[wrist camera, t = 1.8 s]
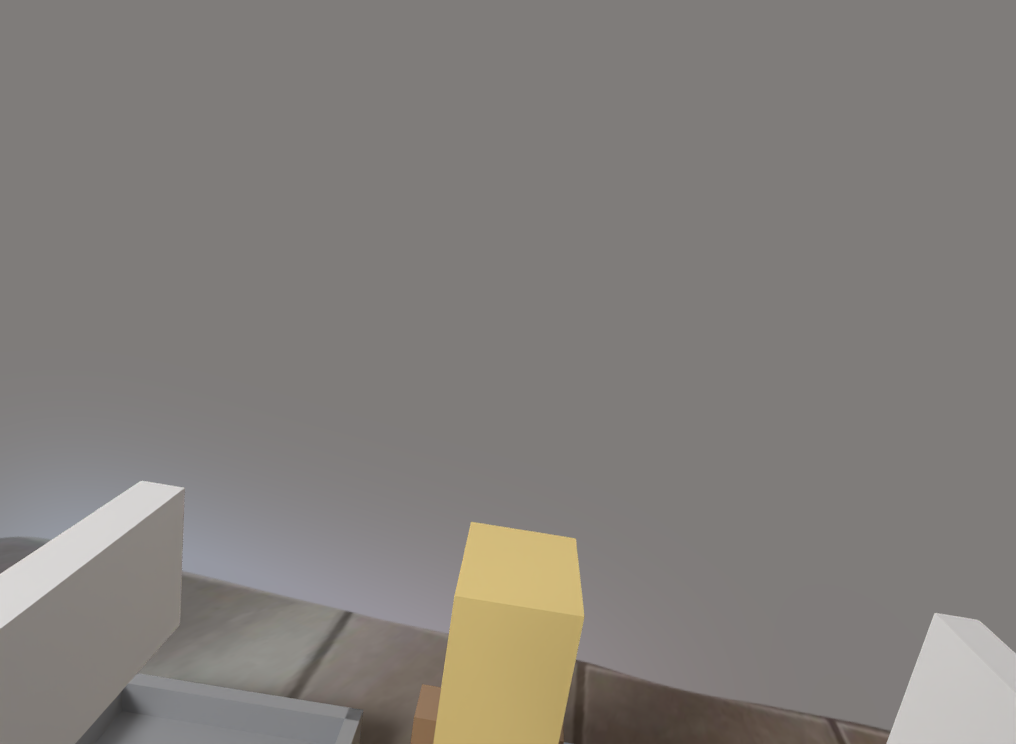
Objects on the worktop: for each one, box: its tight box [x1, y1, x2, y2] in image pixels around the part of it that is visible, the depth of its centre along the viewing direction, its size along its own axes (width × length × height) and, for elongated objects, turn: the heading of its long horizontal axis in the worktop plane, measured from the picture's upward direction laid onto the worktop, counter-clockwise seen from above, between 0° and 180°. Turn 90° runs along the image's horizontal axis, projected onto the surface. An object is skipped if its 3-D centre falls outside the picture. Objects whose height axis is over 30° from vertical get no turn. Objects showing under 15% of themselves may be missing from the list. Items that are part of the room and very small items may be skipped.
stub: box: [433, 522, 584, 744], centre depth 29 cm, size 5×6×16 cm
